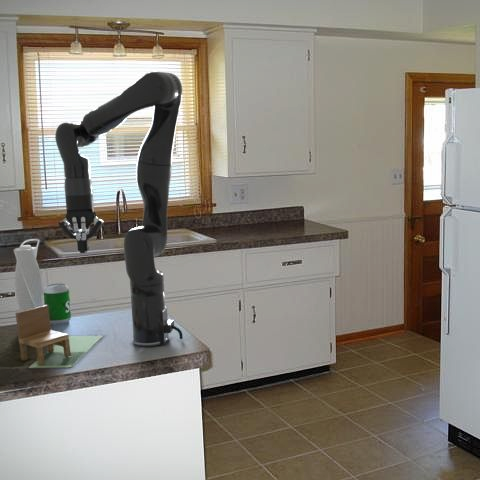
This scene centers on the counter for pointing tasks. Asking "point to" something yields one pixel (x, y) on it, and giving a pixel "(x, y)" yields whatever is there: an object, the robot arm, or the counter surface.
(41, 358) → the chair
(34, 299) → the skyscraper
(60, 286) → the soda can
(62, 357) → the mat
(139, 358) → the counter surface
